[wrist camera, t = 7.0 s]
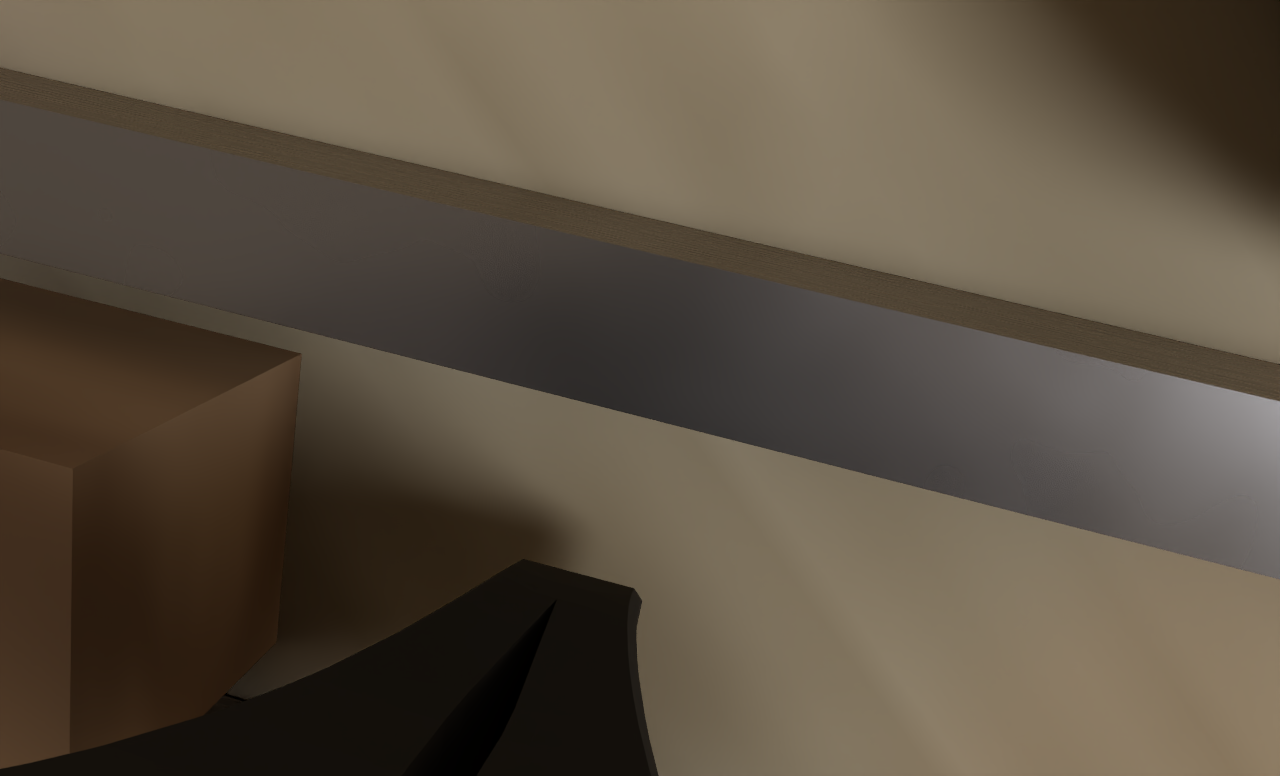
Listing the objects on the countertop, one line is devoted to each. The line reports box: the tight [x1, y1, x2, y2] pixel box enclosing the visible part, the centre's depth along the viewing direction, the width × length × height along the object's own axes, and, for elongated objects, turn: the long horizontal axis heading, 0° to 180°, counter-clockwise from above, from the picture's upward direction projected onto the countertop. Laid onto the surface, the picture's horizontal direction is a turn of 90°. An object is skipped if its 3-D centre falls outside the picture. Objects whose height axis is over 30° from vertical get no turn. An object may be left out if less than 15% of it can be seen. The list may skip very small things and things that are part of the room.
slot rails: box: [0, 68, 1280, 716], centre depth 11 cm, size 9×24×2 cm, turn 78°
